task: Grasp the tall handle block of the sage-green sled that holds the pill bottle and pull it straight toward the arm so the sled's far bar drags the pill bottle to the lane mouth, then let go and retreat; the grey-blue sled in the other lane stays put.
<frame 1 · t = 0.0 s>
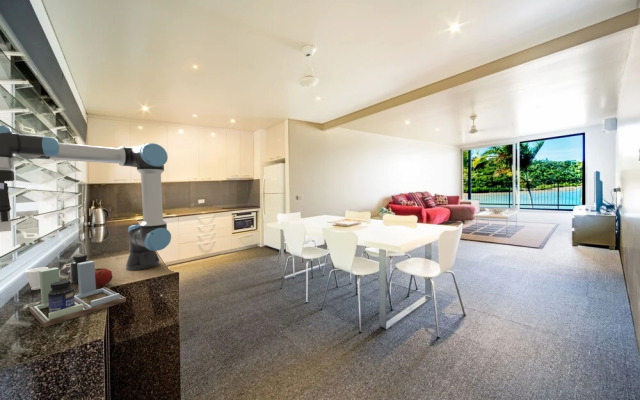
hand: (1, 229, 92), 28 cm above the counter, fingers open, 13 cm apart
supplement bottle: (81, 281, 119), on the counter
sled A: (57, 292, 89), point 7 cm above the counter, slide at 0.0 cm
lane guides: (79, 305, 93), on the counter
sled B: (94, 282, 98), point 7 cm above the counter, slide at 0.0 cm
tomato: (99, 286, 112), on the counter
cup: (39, 287, 113), on the counter
pill bottle: (62, 315, 86), resting in sled A
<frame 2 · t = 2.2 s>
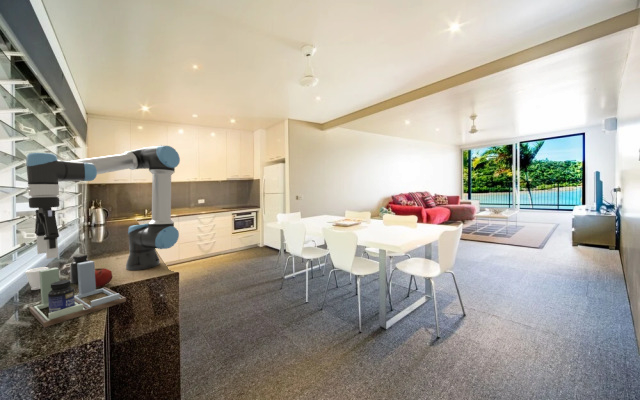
hand: (47, 255, 93), 18 cm above the counter, fingers open, 13 cm apart
nothing on the counter moved.
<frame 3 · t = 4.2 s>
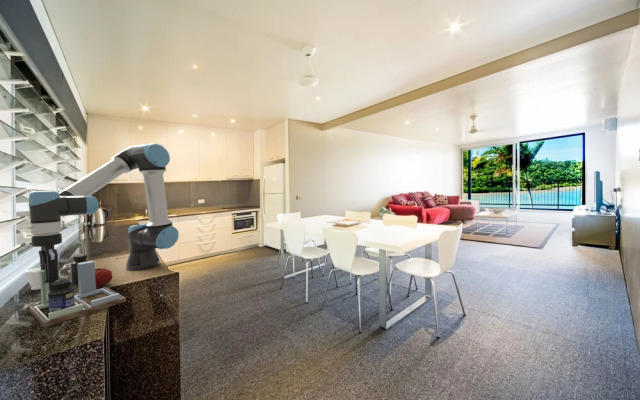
hand: (51, 297, 94), 3 cm above the counter, fingers closed on sled A, 3 cm apart
sled A: (57, 292, 89), point 7 cm above the counter, slide at 0.0 cm, touching gripper
everything else where it was.
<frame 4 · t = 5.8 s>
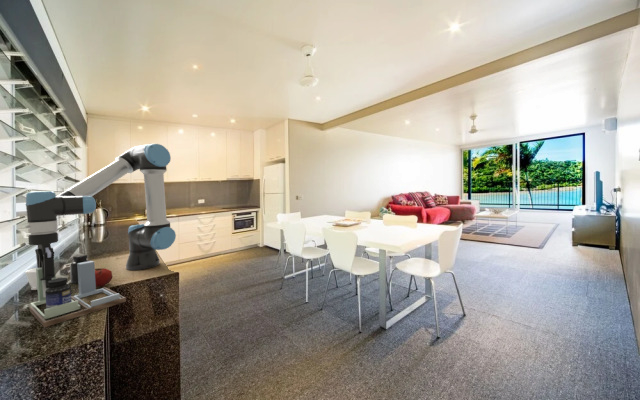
hand: (47, 294, 97), 3 cm above the counter, fingers closed on sled A, 3 cm apart
sled A: (53, 289, 92), point 7 cm above the counter, slide at 5.2 cm, touching gripper, pill bottle
pill bottle: (59, 312, 89), resting in sled A
everything else where it was.
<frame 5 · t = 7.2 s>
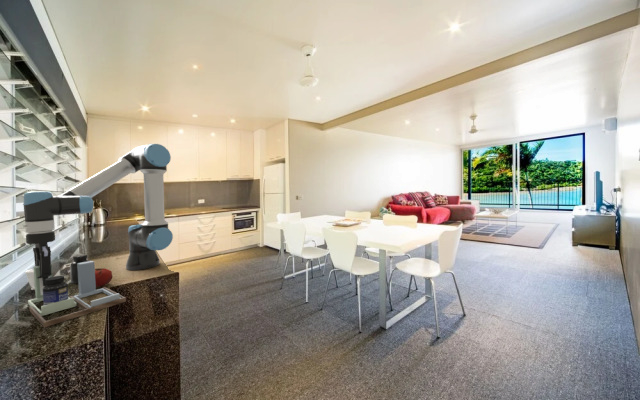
hand: (44, 292, 99), 3 cm above the counter, fingers closed on sled A, 3 cm apart
sled A: (50, 286, 94), point 7 cm above the counter, slide at 9.5 cm, touching gripper
pill bottle: (56, 309, 91), resting in sled A
everything else where it was.
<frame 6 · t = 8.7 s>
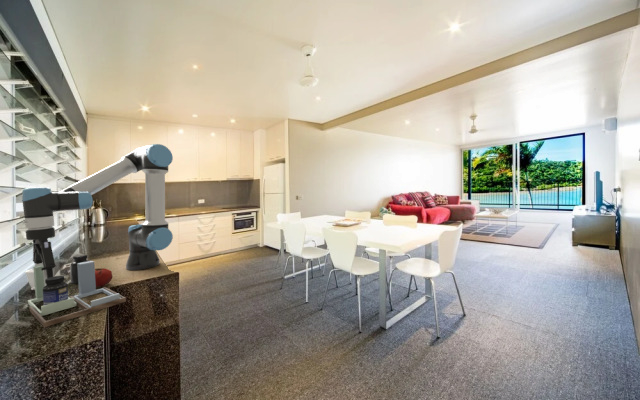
hand: (45, 282, 100), 6 cm above the counter, fingers open, 13 cm apart
sled A: (49, 286, 94), point 7 cm above the counter, slide at 9.5 cm
everything else where it was.
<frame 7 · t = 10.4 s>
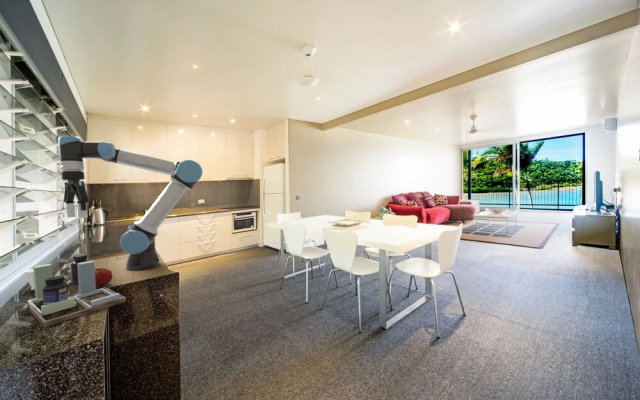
hand: (77, 217, 119), 29 cm above the counter, fingers open, 13 cm apart
nothing on the counter moved.
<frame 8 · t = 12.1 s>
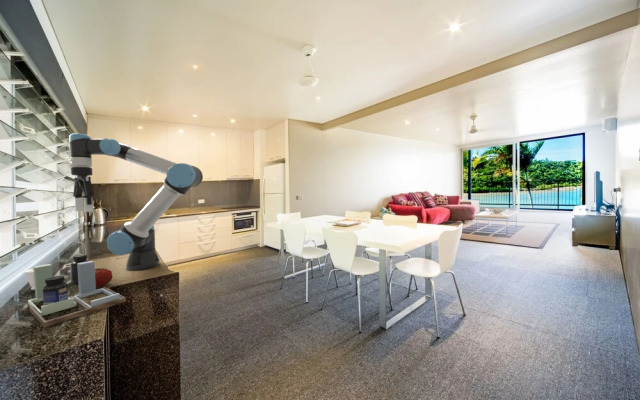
hand: (84, 211, 124), 32 cm above the counter, fingers open, 13 cm apart
nothing on the counter moved.
at the end: pill bottle inside the target area (1.1 cm from its centre), resting in sled A; pill bottle tilted 0°; sled A slide at 9.5 cm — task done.
